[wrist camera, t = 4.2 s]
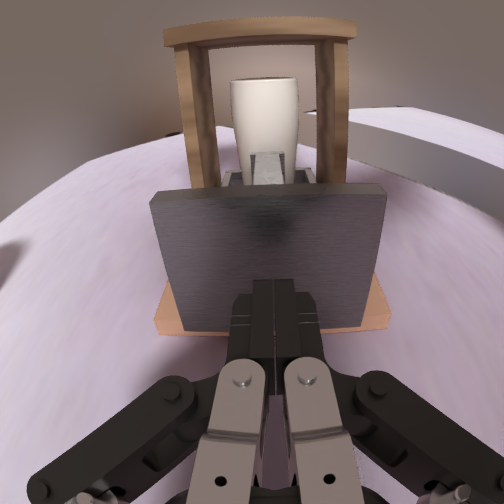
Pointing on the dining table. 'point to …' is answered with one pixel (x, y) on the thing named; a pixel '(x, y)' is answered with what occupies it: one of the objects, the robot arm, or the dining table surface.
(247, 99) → the drinking glass
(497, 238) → the dining table surface
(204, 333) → the board
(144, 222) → the dining table surface
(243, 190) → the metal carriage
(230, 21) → the walnut tunnel
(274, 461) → the dining table surface
